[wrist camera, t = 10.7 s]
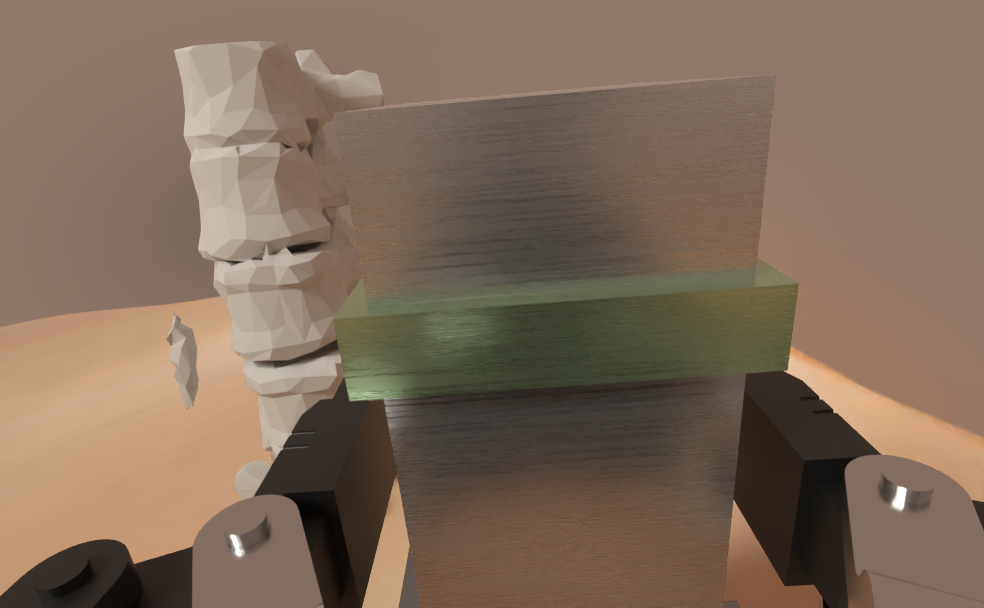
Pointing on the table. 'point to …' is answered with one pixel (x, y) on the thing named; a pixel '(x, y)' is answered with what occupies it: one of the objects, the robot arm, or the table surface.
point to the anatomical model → (271, 222)
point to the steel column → (564, 332)
